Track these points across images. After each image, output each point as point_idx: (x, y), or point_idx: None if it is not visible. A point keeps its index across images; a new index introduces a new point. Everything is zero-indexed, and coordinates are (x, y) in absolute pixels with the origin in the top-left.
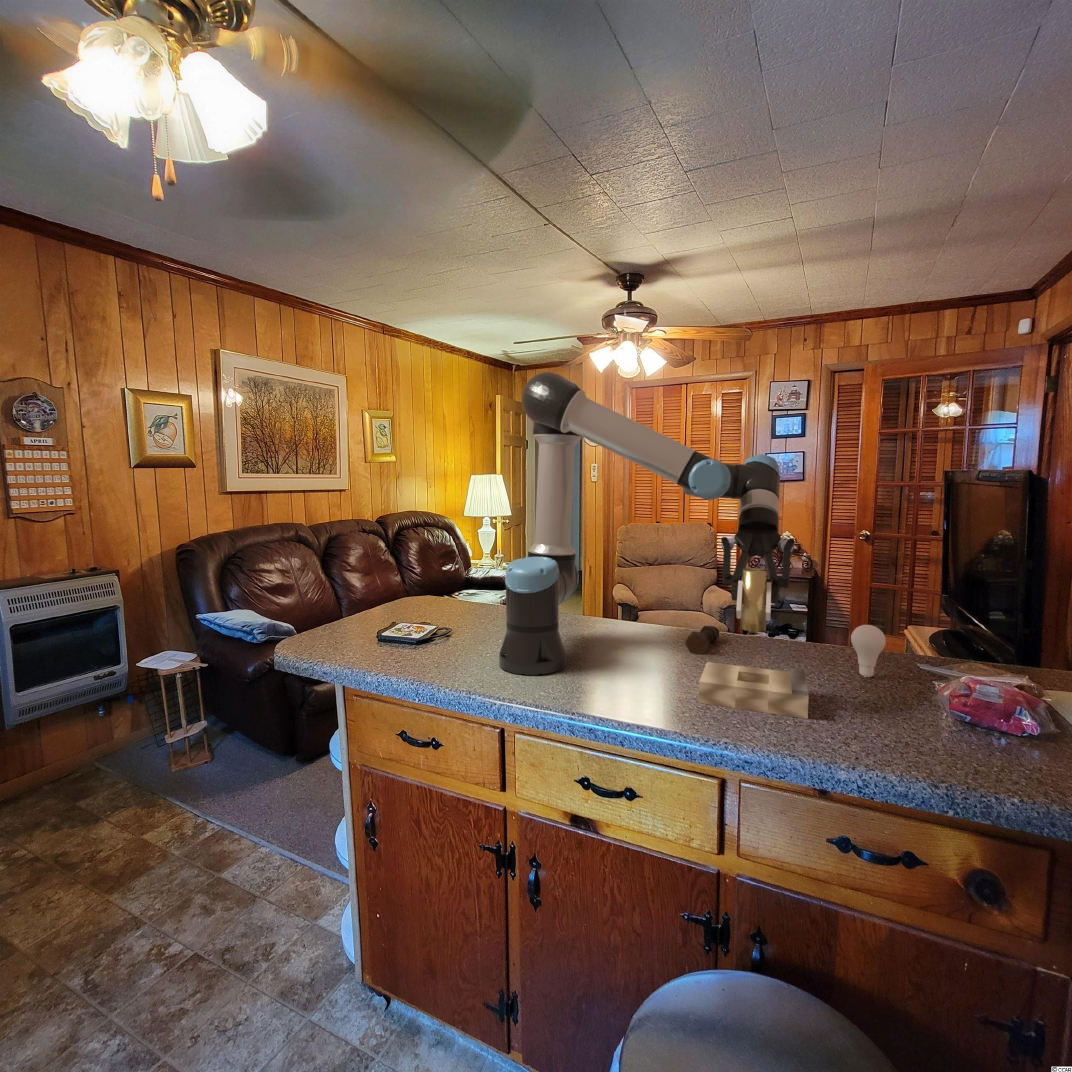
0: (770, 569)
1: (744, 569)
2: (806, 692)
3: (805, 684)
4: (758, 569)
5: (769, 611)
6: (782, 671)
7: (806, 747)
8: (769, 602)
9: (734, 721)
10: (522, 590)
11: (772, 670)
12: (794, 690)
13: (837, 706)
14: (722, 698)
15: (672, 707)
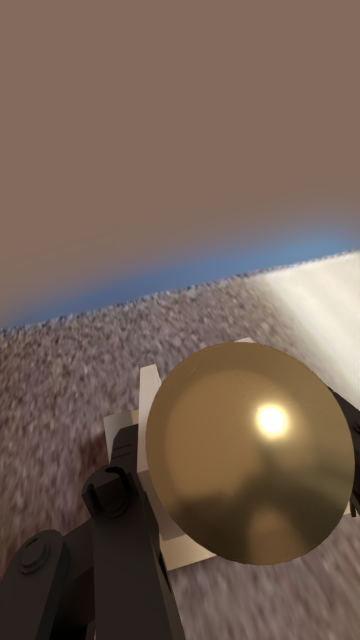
0: (146, 612)
1: (327, 411)
2: (105, 417)
3: (110, 458)
4: (231, 483)
5: (143, 370)
6: (176, 562)
7: (108, 332)
8: (144, 389)
9: (202, 347)
10: None
11: (198, 553)
12: (125, 412)
13: None
14: None
15: (295, 335)
